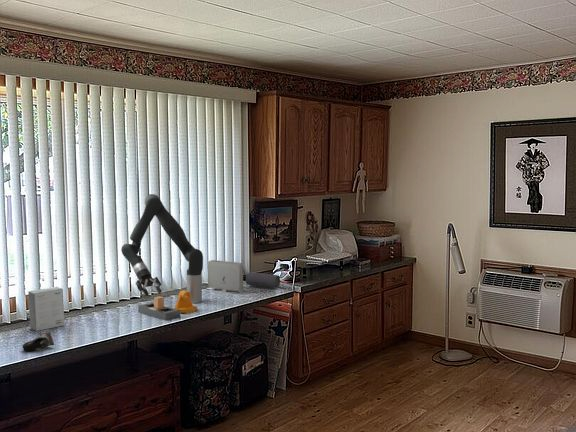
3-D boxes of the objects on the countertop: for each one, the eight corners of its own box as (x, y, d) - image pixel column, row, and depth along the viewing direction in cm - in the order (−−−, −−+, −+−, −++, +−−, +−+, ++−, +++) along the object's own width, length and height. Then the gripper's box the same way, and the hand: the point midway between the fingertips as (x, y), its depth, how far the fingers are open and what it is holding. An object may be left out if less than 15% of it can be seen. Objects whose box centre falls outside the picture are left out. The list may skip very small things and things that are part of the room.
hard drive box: (58, 322, 322) (57, 286, 320) (64, 325, 316) (63, 288, 315) (29, 328, 311) (28, 290, 309) (35, 331, 306) (33, 293, 304)
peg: (159, 313, 342) (159, 296, 341) (164, 314, 340) (163, 297, 339) (154, 314, 339) (153, 297, 338) (158, 315, 337) (157, 298, 336)
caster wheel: (21, 356, 275) (36, 346, 284) (40, 354, 271) (55, 344, 280) (17, 343, 274) (32, 333, 283) (36, 340, 270) (50, 331, 279)
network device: (206, 290, 402) (205, 261, 400) (213, 288, 410) (213, 259, 408) (238, 294, 390) (238, 264, 388) (245, 292, 398) (245, 262, 396)
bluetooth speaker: (280, 287, 412) (280, 273, 411) (274, 290, 403) (274, 276, 402) (251, 284, 421) (251, 270, 420) (245, 287, 412) (245, 273, 411)
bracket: (182, 314, 341) (181, 293, 339) (175, 312, 346) (174, 291, 345) (197, 311, 348) (197, 290, 347) (190, 308, 353) (190, 288, 352)
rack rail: (138, 312, 345) (138, 304, 344) (152, 309, 352) (152, 301, 351) (165, 320, 327) (165, 312, 327) (180, 317, 334) (180, 309, 334)
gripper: (133, 269, 341) (146, 292, 334) (154, 266, 351) (167, 288, 345) (128, 277, 345) (140, 300, 338) (149, 273, 355) (161, 295, 349)
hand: (154, 294), depth 342 cm, fingers open, 8 cm apart
